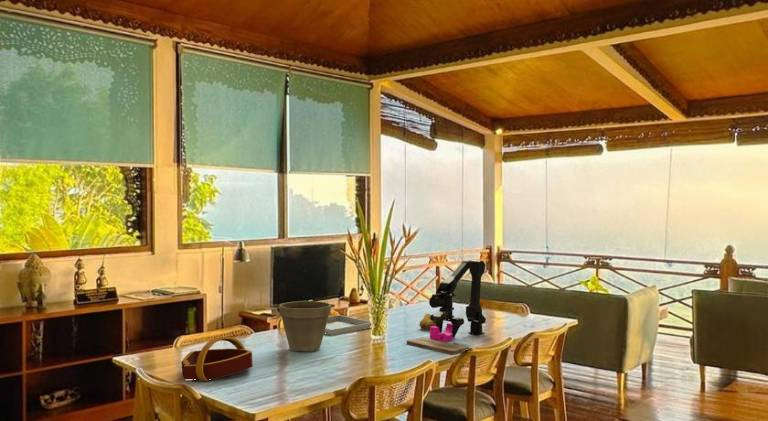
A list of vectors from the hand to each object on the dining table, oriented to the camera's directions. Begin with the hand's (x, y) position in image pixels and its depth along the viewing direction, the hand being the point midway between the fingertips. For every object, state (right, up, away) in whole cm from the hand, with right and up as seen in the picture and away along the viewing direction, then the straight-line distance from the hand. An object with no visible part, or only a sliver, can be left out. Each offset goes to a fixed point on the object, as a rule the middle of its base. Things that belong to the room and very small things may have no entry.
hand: (446, 335), depth 329 cm
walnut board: (-6, -2, -16) cm, 17 cm away
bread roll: (-7, -2, +26) cm, 27 cm away
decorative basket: (-101, -4, -61) cm, 118 cm away
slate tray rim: (-60, -1, +32) cm, 68 cm away
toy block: (-1, -3, +1) cm, 3 cm away
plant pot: (-71, -3, -20) cm, 73 cm away
